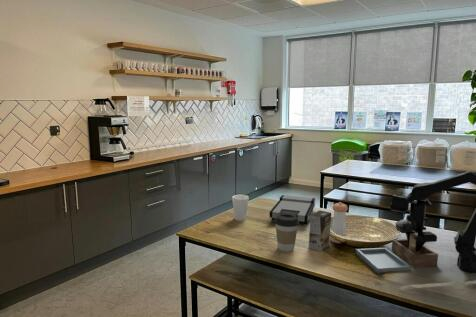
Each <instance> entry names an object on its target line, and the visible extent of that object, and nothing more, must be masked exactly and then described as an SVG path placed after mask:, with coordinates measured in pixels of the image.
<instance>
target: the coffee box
mask: <svg viewBox="0 0 476 317" xmlns="http://www.w3.org/2000/svg"><path fill="white" fill-rule="evenodd" d="M331 224H332V212H328V211H324V210H317V211H315V212H313V213H312V214H310V220H309V235H308V248H309V249H312V250H315V251H319V252H321V251H323V250H325V249H326V248H328V247H330V241H331V228H332V225H331Z"/></svg>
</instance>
